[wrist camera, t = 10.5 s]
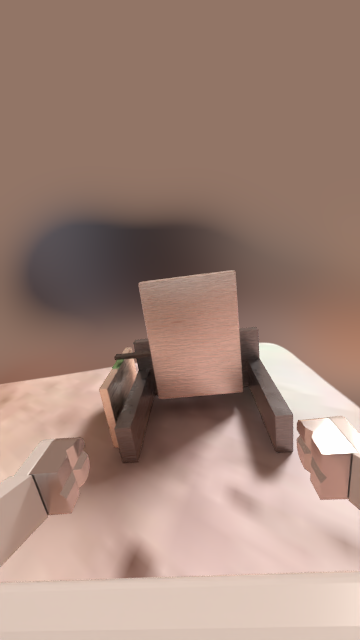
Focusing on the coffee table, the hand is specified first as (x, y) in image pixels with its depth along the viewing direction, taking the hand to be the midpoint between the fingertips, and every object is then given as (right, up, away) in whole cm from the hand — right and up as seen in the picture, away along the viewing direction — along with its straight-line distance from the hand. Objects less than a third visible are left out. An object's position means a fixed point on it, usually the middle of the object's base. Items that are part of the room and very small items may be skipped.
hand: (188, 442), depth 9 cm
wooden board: (0, -4, +21) cm, 21 cm away
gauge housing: (+2, -7, +19) cm, 21 cm away
